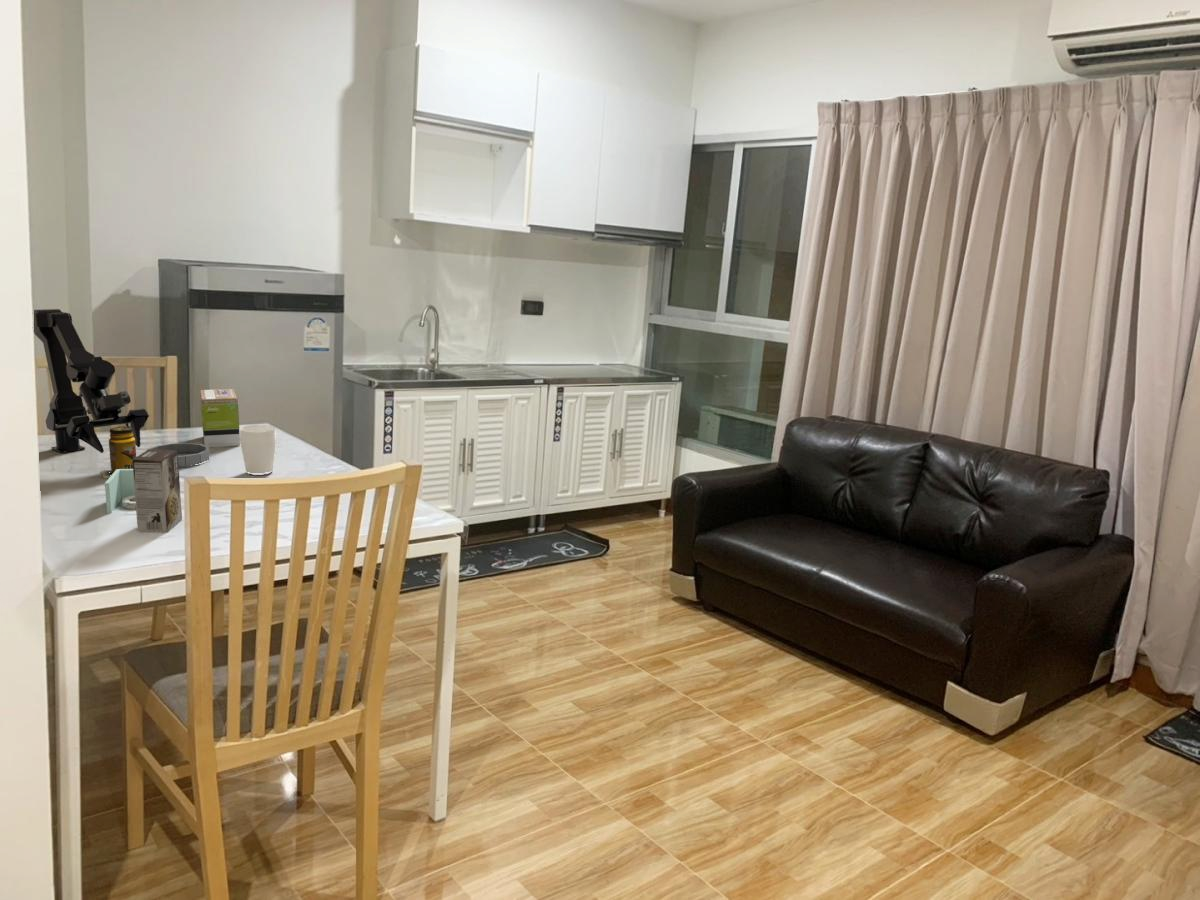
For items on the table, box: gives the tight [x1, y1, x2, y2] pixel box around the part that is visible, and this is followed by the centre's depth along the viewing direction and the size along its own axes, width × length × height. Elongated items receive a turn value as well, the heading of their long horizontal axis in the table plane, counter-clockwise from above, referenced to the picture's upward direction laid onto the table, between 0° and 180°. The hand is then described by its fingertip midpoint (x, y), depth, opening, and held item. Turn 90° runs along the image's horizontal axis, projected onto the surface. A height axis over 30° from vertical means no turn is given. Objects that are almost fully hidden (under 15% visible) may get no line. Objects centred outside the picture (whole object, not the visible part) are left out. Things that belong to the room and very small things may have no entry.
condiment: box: [100, 426, 137, 479], centre depth 235 cm, size 7×8×12 cm
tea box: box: [199, 388, 241, 448], centre depth 273 cm, size 15×10×15 cm
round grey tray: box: [146, 442, 210, 468], centre depth 251 cm, size 16×16×3 cm
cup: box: [239, 424, 277, 473], centre depth 242 cm, size 9×9×12 cm
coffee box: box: [132, 448, 183, 534], centre depth 197 cm, size 9×6×16 cm
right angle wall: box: [104, 469, 136, 514], centre depth 212 cm, size 12×12×8 cm
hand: (121, 449), depth 234 cm, fingers open, 9 cm apart
